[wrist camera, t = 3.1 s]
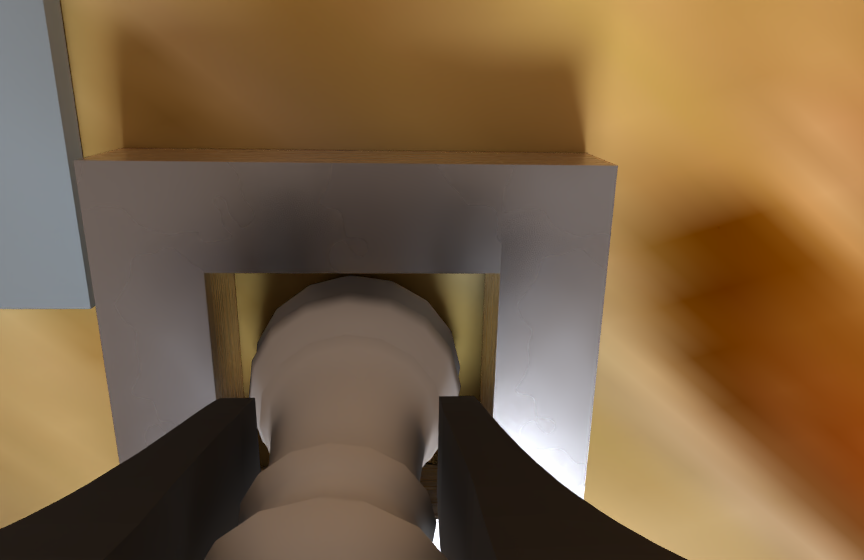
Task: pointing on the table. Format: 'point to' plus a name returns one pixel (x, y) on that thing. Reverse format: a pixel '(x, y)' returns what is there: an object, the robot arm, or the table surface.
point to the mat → (39, 164)
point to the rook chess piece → (346, 426)
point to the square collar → (349, 270)
